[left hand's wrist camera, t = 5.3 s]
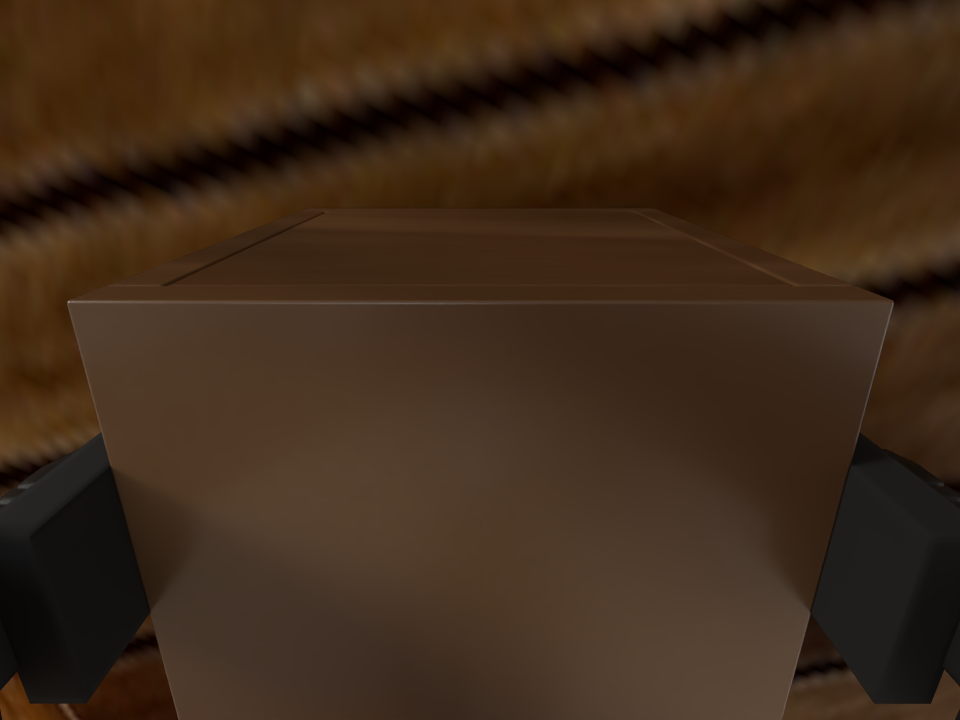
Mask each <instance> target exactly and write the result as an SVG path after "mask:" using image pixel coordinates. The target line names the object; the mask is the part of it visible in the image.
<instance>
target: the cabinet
mask: <svg viewBox="0 0 960 720" xmlns="http://www.w3.org/2000/svg"><path fill="white" fill-rule="evenodd" d="M67 306H68V309H69V313H70V317H71V320H72V324H73V328H74V332H75V335H76V339H77V343H78V347H79V350H80V354H81V358H82V361H83V365H84V369H85V373H86V376H87V380H88V384H89V387H90V391H91V395H92V399H93V402H94V406H95V410H96V414H97V417H98V421H99V425H100V428H101V432H102V436H103V440H104V443H105V447H106V451H107V455H108V458H109V462H110V466H111V469H112V473H113V477H114V481H115V484H116V488H117V492H118V495H119V499H120V503H121V507H122V510H123V514H124V518H125V522H126V525H127V529H128V533H129V536H130V540H131V544H132V548H133V551H134V555H135V559H136V563H137V566H138V570H139V574H140V577H141V581H142V585H143V589H144V592H145V596H146V600H147V603H148V607H149V611H150V615H151V618H152V622H153V626H154V630H155V633H156V637H157V641H158V644H159V648H160V652H161V656H162V659H163V663H164V667H165V671H166V674H167V678H168V682H169V685H170V689H171V693H172V697H173V700H174V704H175V708H176V711H177V715H178V719H179V720H782V718H783V714H784V711H785V707H786V703H787V699H788V696H789V692H790V688H791V685H792V681H793V677H794V673H795V670H796V666H797V662H798V659H799V655H800V651H801V647H802V644H803V640H804V636H805V633H806V629H807V625H808V621H809V618H810V614H811V610H812V607H813V603H814V599H815V595H816V592H817V588H818V584H819V581H820V577H821V573H822V569H823V566H824V562H825V558H826V555H827V551H828V547H829V543H830V540H831V536H832V532H833V529H834V525H835V521H836V517H837V514H838V510H839V506H840V503H841V499H842V495H843V491H844V488H845V484H846V480H847V477H848V473H849V469H850V465H851V462H852V458H853V454H854V451H855V447H856V443H857V439H858V436H859V432H860V428H861V425H862V421H863V417H864V413H865V410H866V406H867V402H868V399H869V395H870V391H871V387H872V384H873V380H874V376H875V373H876V369H877V365H878V361H879V358H880V354H881V350H882V347H883V343H884V339H885V335H886V332H887V328H888V324H889V321H890V317H891V313H892V309H893V306H894V302H893V301H892V300H890V299H887V298H885V297H882V296H880V295H877V294H874V293H872V292H869V291H867V290H864V289H861V288H859V287H856V286H852V285H850V284H848V283H845V282H843V281H840V280H837V279H835V278H832V277H830V276H827V275H825V274H822V273H819V272H817V271H814V270H812V269H809V268H806V267H804V266H801V265H799V264H796V263H794V262H791V261H788V260H786V259H783V258H781V257H778V256H775V255H773V254H770V253H768V252H765V251H763V250H760V249H757V248H755V247H752V246H750V245H747V244H744V243H742V242H739V241H737V240H734V239H732V238H729V237H726V236H724V235H721V234H719V233H716V232H713V231H711V230H708V229H706V228H703V227H701V226H698V225H695V224H693V223H690V222H688V221H685V220H682V219H680V218H677V217H675V216H672V215H670V214H667V213H664V212H662V211H659V210H656V209H653V208H307V209H305V210H302V211H299V212H297V213H294V214H292V215H289V216H286V217H284V218H281V219H279V220H276V221H274V222H271V223H268V224H266V225H263V226H261V227H258V228H256V229H253V230H250V231H248V232H245V233H243V234H240V235H237V236H235V237H232V238H230V239H227V240H225V241H222V242H219V243H217V244H214V245H212V246H209V247H207V248H204V249H201V250H199V251H196V252H194V253H191V254H189V255H186V256H183V257H181V258H178V259H176V260H173V261H170V262H168V263H165V264H163V265H160V266H158V267H155V268H152V269H150V270H147V271H145V272H142V273H140V274H137V275H134V276H132V277H129V278H127V279H124V280H122V281H119V282H116V283H114V284H111V285H109V286H104V287H102V288H99V289H97V290H94V291H92V292H89V293H86V294H84V295H81V296H79V297H76V298H73V299H71V300H69V301H68V302H67Z"/></svg>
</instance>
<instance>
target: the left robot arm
mask: <svg viewBox="0 0 960 720" xmlns="http://www.w3.org/2000/svg"><path fill="white" fill-rule="evenodd" d="M149 613H150V611H149V607H148V603H147V600H146V596H145V592H144V589H143V585H142V581H141V577H140V574H139V570H138V566H137V563H136V559H135V555H134V551H133V548H132V544H131V540H130V536H129V533H128V529H127V525H126V522H125V518H124V514H123V510H122V507H121V503H120V499H119V495H118V492H117V488H116V484H115V481H114V477H113V473H112V469H111V466H110V462H109V458H108V455H107V451H106V447H105V443H104V440H103V436H102V432H101V433H100V434H98V435H97V436H96V437H94V438H93V439H92V440H90V441H89V442H88V443H86V444H85V445H84V446H83V447H81V448H80V449H79V450H77V451H75V452H73V453H70V454H68V455H66V456H64V457H62V458H60V459H58V460H56V461H54V462H52V463H49V464H47V465H45V466H43V467H42V468H40V469H39V470H38V471H36V472H35V473H34V474H32V475H31V476H30V477H28V478H27V479H25V480H24V481H23V482H21V483H20V484H19V485H18V488H17V489H12V490H11V491H9V492H8V493H7V494H5V495H4V496H3V497H1V498H0V690H1V689H2V688H3V687H4V686H5V685H6V684H7V682H8V681H9V680H10V679H11V678H12V677H13V676H14V674H15V673H16V672H18V674H19V677H20V679H21V682H22V684H23V687H24V689H25V692H26V694H27V697H28V700H29V702H30V703H87V702H88V700H89V699H90V697H91V696H92V695H93V693H94V692H95V690H96V689H97V687H98V686H99V685H100V683H101V682H102V680H103V679H104V678H105V676H106V675H107V673H108V672H109V670H110V669H111V668H112V666H113V665H114V663H115V662H116V660H117V659H118V658H119V656H120V655H121V653H122V652H123V650H124V649H125V648H126V646H127V645H128V643H129V642H130V640H131V639H132V638H133V636H134V635H135V633H136V632H137V630H138V629H139V628H140V626H141V625H142V623H143V622H144V620H145V619H146V618H147V616H148V615H149ZM811 614H812V615H813V617H814V618H815V620H816V621H817V622H818V624H819V625H820V627H821V628H822V630H823V631H824V632H825V634H826V635H827V637H828V638H829V640H830V641H831V642H832V644H833V645H834V647H835V648H836V650H837V651H838V652H839V654H840V655H841V657H842V658H843V659H844V661H845V662H846V664H847V665H848V667H849V668H850V669H851V671H852V672H853V674H854V675H855V677H856V678H857V679H858V681H859V682H860V684H861V685H862V687H863V688H864V689H865V691H866V692H867V694H868V695H869V697H870V698H871V699H872V701H873V702H874V704H931V702H932V699H933V697H934V694H935V692H936V689H937V686H938V684H939V681H940V679H941V676H942V674H943V671H944V669H945V670H946V671H947V673H948V674H949V675H950V676H951V677H952V678H953V679H954V680H955V682H956V683H957V684H958V685H959V686H960V495H959V494H958V493H957V492H955V491H954V490H952V489H951V488H950V487H944V485H943V482H942V481H940V480H939V479H938V478H936V477H935V476H933V475H932V474H931V473H929V472H928V471H927V470H925V469H924V468H923V467H921V466H920V465H918V464H916V463H914V462H912V461H910V460H908V459H906V458H904V457H901V456H899V455H897V454H895V453H893V452H891V451H889V450H887V449H881V448H879V447H878V446H877V445H876V444H874V443H873V442H872V441H870V440H869V439H868V438H866V437H865V436H864V435H862V434H861V433H860V432H859V436H858V439H857V443H856V447H855V451H854V454H853V458H852V462H851V465H850V469H849V473H848V477H847V480H846V484H845V488H844V491H843V495H842V499H841V503H840V506H839V510H838V514H837V517H836V521H835V525H834V529H833V532H832V536H831V540H830V543H829V547H828V551H827V555H826V558H825V562H824V566H823V569H822V573H821V577H820V581H819V584H818V588H817V592H816V595H815V599H814V603H813V607H812V610H811ZM0 720H2V717H1V711H0ZM955 720H960V709H959V712H958V714H957V717H956V719H955Z"/></svg>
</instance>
